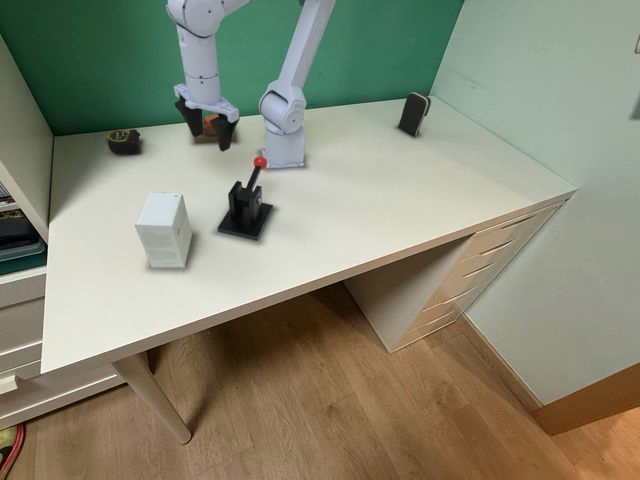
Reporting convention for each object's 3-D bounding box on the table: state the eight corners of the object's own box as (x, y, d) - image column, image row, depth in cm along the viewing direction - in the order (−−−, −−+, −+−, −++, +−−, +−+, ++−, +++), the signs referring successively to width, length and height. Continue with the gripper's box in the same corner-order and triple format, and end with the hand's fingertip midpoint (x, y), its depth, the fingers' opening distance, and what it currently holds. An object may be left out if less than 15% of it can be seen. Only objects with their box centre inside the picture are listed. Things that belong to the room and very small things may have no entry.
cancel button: (219, 120, 87) (219, 114, 86) (220, 127, 84) (220, 121, 83) (205, 121, 86) (204, 114, 85) (206, 127, 83) (205, 121, 82)
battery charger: (421, 134, 102) (435, 98, 94) (414, 137, 100) (427, 100, 92) (404, 124, 105) (415, 88, 97) (396, 127, 103) (408, 91, 95)
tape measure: (141, 156, 77) (137, 142, 74) (108, 158, 75) (102, 144, 72) (142, 141, 81) (138, 127, 79) (111, 142, 79) (106, 128, 77)
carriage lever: (256, 161, 69) (255, 151, 66) (269, 164, 69) (268, 154, 66) (237, 205, 63) (234, 197, 61) (251, 209, 63) (249, 200, 61)
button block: (232, 127, 91) (231, 115, 89) (235, 142, 86) (234, 129, 84) (194, 128, 89) (192, 115, 86) (195, 143, 83) (193, 131, 81)
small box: (162, 234, 62) (147, 190, 54) (193, 235, 62) (183, 192, 55) (150, 268, 56) (132, 224, 48) (184, 268, 57) (172, 225, 49)
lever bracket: (237, 200, 71) (234, 170, 65) (273, 209, 70) (273, 179, 64) (218, 232, 64) (213, 201, 58) (257, 241, 63) (256, 211, 58)
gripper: (153, 64, 57) (170, 136, 66) (215, 92, 52) (223, 164, 62) (186, 56, 61) (197, 124, 71) (245, 80, 57) (248, 149, 66)
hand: (211, 142), depth 67 cm, fingers open, 7 cm apart
